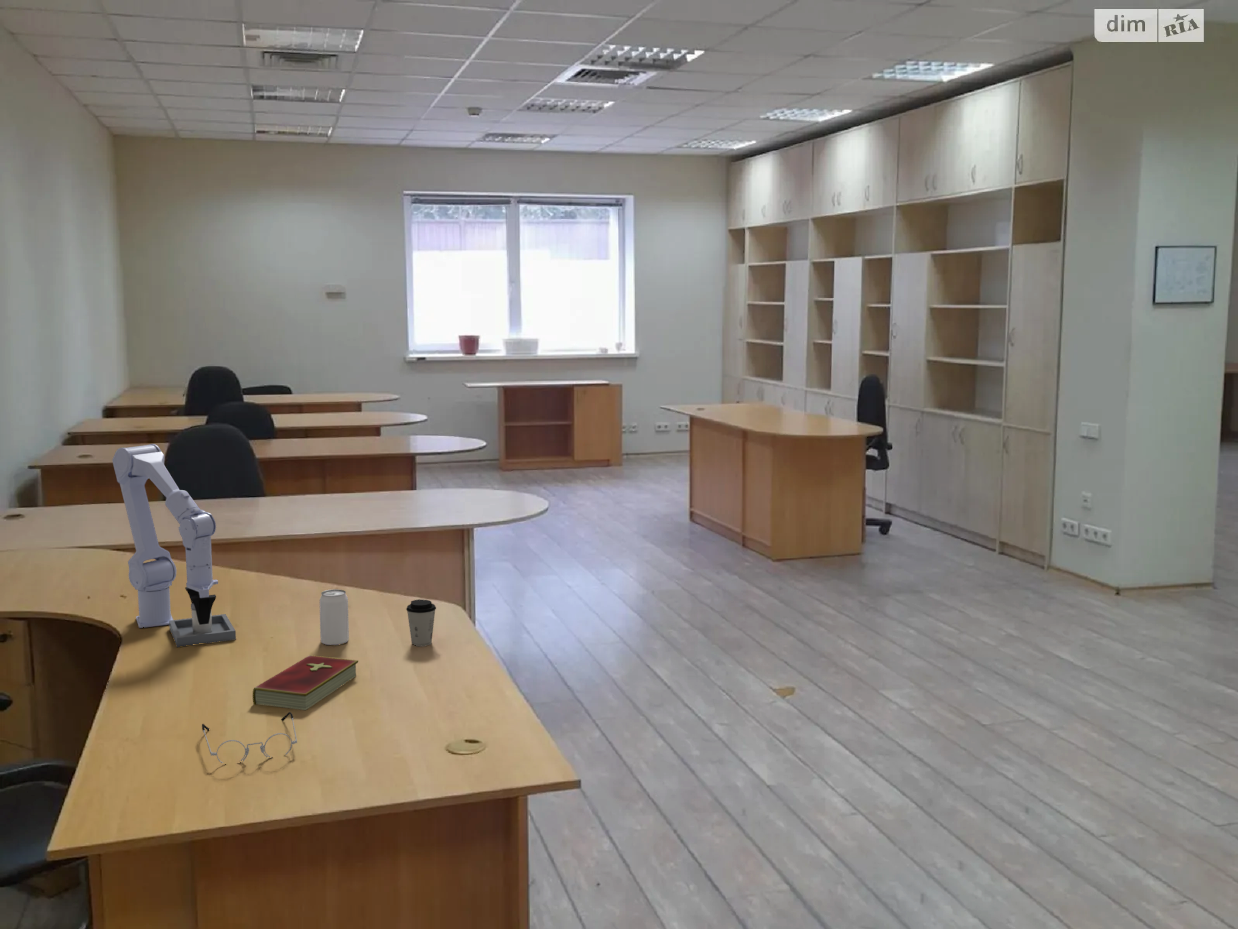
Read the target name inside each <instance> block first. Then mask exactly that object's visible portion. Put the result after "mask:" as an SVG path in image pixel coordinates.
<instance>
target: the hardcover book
mask: <svg viewBox="0 0 1238 929" xmlns="http://www.w3.org/2000/svg"><path fill="white" fill-rule="evenodd" d="M358 663H359V660H355V659H349V658H340V657H332V656H331V657H329V656H323V655H321V656H320V655H313V654H309V655H307V656H306V657H304V658H302V659H301V660H299V661H297V662H296V663H294V664H292V665H291V666H289V667H288V668H286V669H284V670H283V671H281V672H279V673H277V674H275V675H274V676H272V677H270V678H269V679H266V680H265V681H263V682H262V683H259V684H258V685H257V686H255V687H254V688H253V689H252V704H253V705H261V706H270V707H277V708H285V709H292V710H294V709H295V710H300V711H306V710H308V709H310V708H311V707H313V706H315V704H317V703H318V702H320V701H321V700H323V699H325V698H326V697H327V696H329V695H331V694H332V693H333V692H335V691H336V690H338V689H339V688H341V687H342V686H344V685H346V684H347V683H348V682H350V681H351V680H352V678H353V679H354V678H356V677H357V668H356V667H357V664H358ZM355 676H356V677H355ZM350 679H351V680H350ZM349 680H350V681H349ZM347 681H348V682H347ZM346 682H347V683H346ZM343 684H344V685H343ZM341 685H342V686H341ZM340 686H341V687H340ZM337 688H338V689H337Z"/></svg>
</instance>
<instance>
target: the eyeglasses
mask: <svg viewBox="0 0 1238 929" xmlns="http://www.w3.org/2000/svg"><path fill="white" fill-rule="evenodd" d="M289 716H290V719H291V721H292V726H293V733H294V740H292V738H291V737H290V735H288V734H286V733H284V732H280V733H279V732H277V733H274V734H272V735H271V736H269V737H268V738H267V739H266V741H265V743H264V742H262V741H260V742H254V743H247V744H246V747H245V745H244V744H243V742H242V741H239V740H236V739H229V740H226V741H223V742H222V743H221V744H219V746H218V747H217V750H216V752H215V751H214V752H213V751H212V749H211V747H210V742H209V741H208V738H207V735H206V731H207V732H209V731H210V730H209V729H210V727H208V726H206V725H205V723H202V724H201V730H202V733H203V734H204V738H205V740H206V741H205V742H206V745H207V747H208V751H209V754H210V756H214V757H216V759H217V761H218V762H220V764H222V763H224V762H223V761H221V760H220V758H219V757H218V756H219V755H218V752H219V749H220V747H222V746H223V745H224V744H226V743H229V742H236V743H239V744H241V746H243V747H244V755H243V756H242V758H241V759H240V760H241V761H242V760H243V762H244V761H245V760H246V759H247V756H248V755H249V752H250V747H249V746H253V745H259V749H260V752H261V754H263V755H264V756H265V757H266V758H267V757H270V755H268V753H267V752H266V744H267V743H268V741H269V740H271V738H273V737H275V736H279V735H284V736H286V737H288V738H289V739H290V747H289V749H288V751H286V753H285V754H286V755H288V754H289V753H290V751H291V749H292V748H293V745H295V744H298V739H297V732H296V727H295V722H294V719H295V718H294V716H293V713H292V712H291V711H289V712H287V714H285V715H284V716H283V717H281V719H280V720H281V721H282V722H284V721H285V720H286V719H287V718H288V717H289ZM208 730H209V731H208ZM260 744H261V745H260Z"/></svg>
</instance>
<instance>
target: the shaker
mask: <svg viewBox="0 0 1238 929" xmlns="http://www.w3.org/2000/svg"><path fill="white" fill-rule="evenodd" d="M190 609H191V618H192V629H193V634H203V633H211V632H212V616H213V615H212V613H211V614H210V620H209V624H202V625H199V622H198V619H197V614H196V610H195V606H194V604H193V603H191V604H190Z"/></svg>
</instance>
